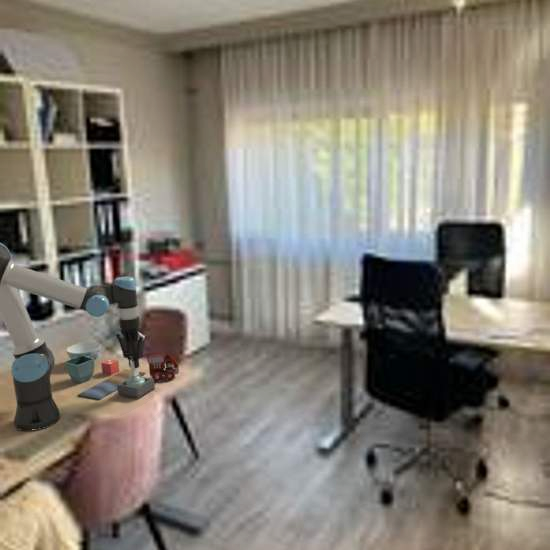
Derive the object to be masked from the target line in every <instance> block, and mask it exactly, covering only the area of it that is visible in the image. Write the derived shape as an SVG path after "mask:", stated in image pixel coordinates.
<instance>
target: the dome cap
mask: <svg viewBox="0 0 550 550" xmlns="http://www.w3.org/2000/svg"><path fill="white" fill-rule="evenodd" d="M142 377H143V376H141V377H139V376H135V377H133V376H132V377H131V378H130V379H128V380H127V381H126V384H127V385H129V386H135V387H138V386H139V385H141V384H143V383H145V379H144V378H142Z"/></svg>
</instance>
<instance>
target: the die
mask: <svg viewBox="0 0 550 550" xmlns="http://www.w3.org/2000/svg"><path fill="white" fill-rule="evenodd" d="M100 366H101V373H102V375H105V374H106V375H107V376H111V375H112V376H114V375H116V374H118V373H119V372H120V366H119V360H117V359H112V358H109V359H107V360H105V361H103V362H101V363H100ZM113 374H114V375H113Z"/></svg>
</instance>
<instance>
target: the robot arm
mask: <svg viewBox="0 0 550 550" xmlns="http://www.w3.org/2000/svg"><path fill="white" fill-rule="evenodd" d="M19 290H20V291H24V292H26V293H29V294H32V295H37V296H38V297H42V298H45V299H48V300H51V301H54V302H57V303H60V304H63V305H67V306H69V307H72V308H76V309H79V310H82V311H84V312H87V313H88V314H89V315H90V316H91V317H95V318H100V317H102V316H104V315H105V314H106V313H107V312H108V309H109V308H110V305H117V306H116V307H117V315H118V318H119V319H118V324H119V328H120V331H119V332H118V333H116V334H115V337H116V338H117V339H118V340H117V341H118V342H119V345H120V349H121V352H122V356H123V358H124V359H127V360H128V366H129V368H130V370H131V376H133V377H135V376H137V375H139V372H140V369H139V367H140V360H141V359H142V358H143V357H144V349H145V340H146V338H147V335H146V334H142V333H141V329H140V316H139V315H140V314H139V305H138V295H137V287H136V280H135V278H134V277H133V276H120V277H116V278H115V279H114V283H110V284H103V285H101V284H100V285H99V284H98V285H91V286H90V285H89V286H85V287H83V286H80V285H77V284H75V283H72V282H69V281H65V280H62V279H59V278H57V277H53V276H51V275H48V274H46V273H42V272H39V271H37V270H36V271H35V270H33V269H30V268H27V267H25V266H23V265H22V266H21V265H20V264H19V265H18V264H16V263H14V261H13V260H12V257H11V252H10V250H9V248H8V247H7V246H6V245H4V244H3V243H1V242H0V317H1V319H2V321H3V323H4V326H5V328H6V330H7V333H8V334H9V337H10V340H11V342H12V343H13V346H14V349H13V351H12V355H13V357H14V361H12V363H11V376H12V380H13V381H12V382H13V387H14V393H15V399H16V400H15V401H16V410H15V415H14V419H13V424H14V427H16V428H18V429H21V430H20V431H22V430H32V429H39V428H43V427H46V428H48V427H47V426H49V427H51V426H52V425H51V424H53V425H55V424H56V423H58V422H59V421H60V419H61V414H60V410H59V407H58V405H57V404H56V402H55V400H54V399H53V393H52V385H51V375H52V371H53V370H54V366H55V355H54V352H53V351H52V350H51V349H50V348H49V347H48V346H47V344H46V341H45V340H44V339H43V338H41V337H39V336H38V333H37V331H36V328H35V327H34V324H33V321H32V319H31V317H30V315H29V313H28V310H27V308H26V306H25V304H24V301H23V299H22V297H21V294H20V291H19ZM54 423H55V424H54ZM50 425H51V426H50ZM16 428H15V429H16ZM18 429H17V430H18ZM43 429H44V428H43ZM39 430H40V429H39Z"/></svg>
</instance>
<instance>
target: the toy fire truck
mask: <svg viewBox="0 0 550 550" xmlns="http://www.w3.org/2000/svg"><path fill="white" fill-rule="evenodd" d="M146 360H147V364H148V370H149V377H150V378H153V379H154V383H155V382H156V383H158V382H157V381H159V382H160V381H162V379H163V376H164V378H165V380H167V381H172V380H173V381H174V379H175V376H176V375H178V374H179V373H180V370H179V369H180V368H179V367H180V366H179V364H178V362H177V361H176V359H175V357H173V356H172V355H171V354H170V353H166V354H156V355H147V356H146Z"/></svg>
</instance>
